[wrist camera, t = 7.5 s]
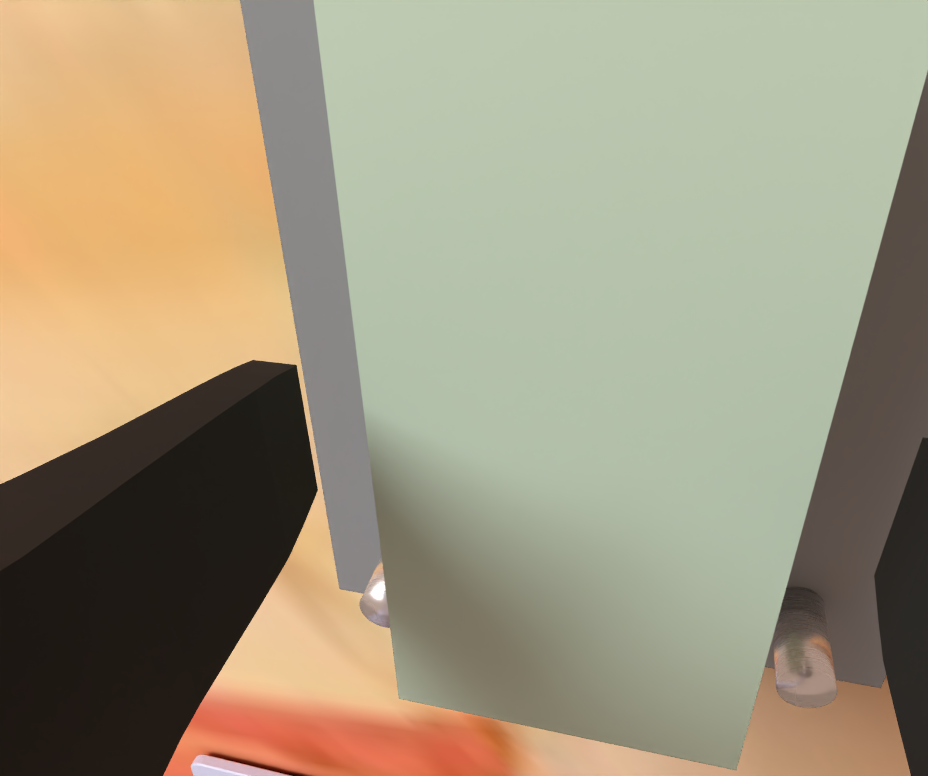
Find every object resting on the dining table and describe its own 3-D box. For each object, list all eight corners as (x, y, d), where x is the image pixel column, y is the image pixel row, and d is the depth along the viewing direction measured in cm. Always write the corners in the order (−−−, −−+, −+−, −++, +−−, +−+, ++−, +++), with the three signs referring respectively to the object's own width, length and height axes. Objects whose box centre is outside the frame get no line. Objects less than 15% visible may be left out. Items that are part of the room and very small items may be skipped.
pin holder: (872, 649, 17) (898, 777, 15) (354, 559, 20) (305, 656, 18) (1299, -468, 8) (1553, -605, 6) (218, -351, 11) (74, -410, 8)
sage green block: (730, 528, 15) (735, 770, 11) (476, 490, 16) (398, 698, 12) (855, -76, 10) (954, -25, 6) (460, -70, 11) (310, -23, 7)
